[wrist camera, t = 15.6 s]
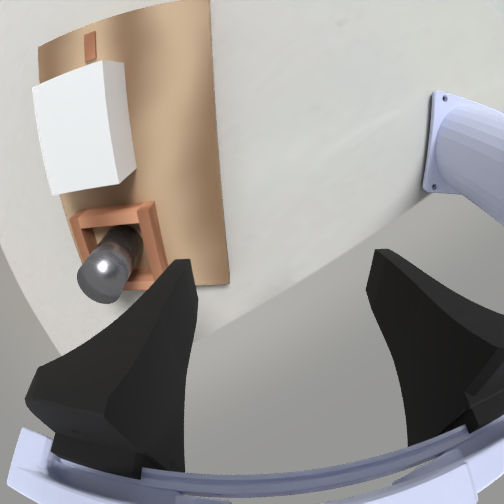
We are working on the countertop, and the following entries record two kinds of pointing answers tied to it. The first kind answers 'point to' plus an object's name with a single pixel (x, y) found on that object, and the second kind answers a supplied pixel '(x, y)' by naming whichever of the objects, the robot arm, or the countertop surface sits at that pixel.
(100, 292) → the grey metal cylinder
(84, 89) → the plain white cuboid
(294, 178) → the countertop surface
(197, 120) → the board
